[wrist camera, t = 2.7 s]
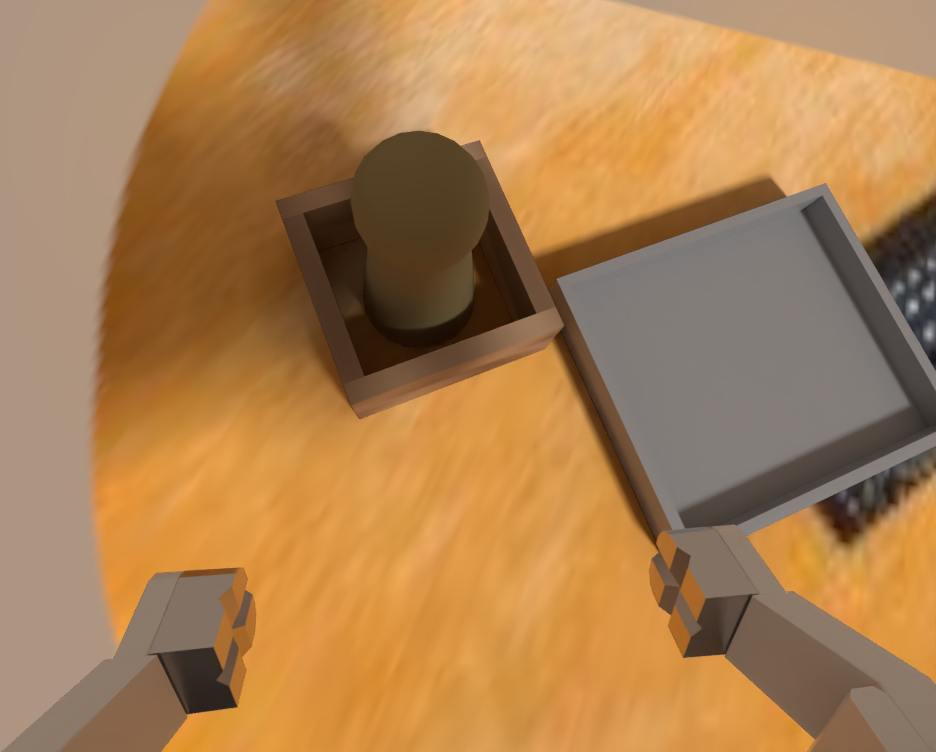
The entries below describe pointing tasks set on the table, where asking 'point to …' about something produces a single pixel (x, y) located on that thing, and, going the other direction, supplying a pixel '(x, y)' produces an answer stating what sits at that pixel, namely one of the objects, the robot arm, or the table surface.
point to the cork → (419, 235)
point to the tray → (749, 365)
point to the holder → (534, 326)
